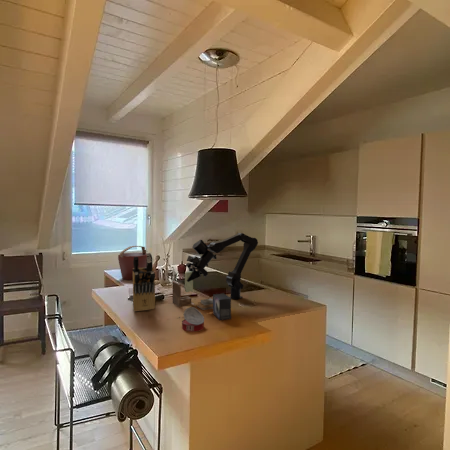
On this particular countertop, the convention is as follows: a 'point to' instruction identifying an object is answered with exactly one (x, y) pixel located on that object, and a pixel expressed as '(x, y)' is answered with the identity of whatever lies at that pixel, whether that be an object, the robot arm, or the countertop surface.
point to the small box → (222, 306)
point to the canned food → (192, 320)
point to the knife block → (143, 285)
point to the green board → (188, 284)
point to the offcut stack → (205, 304)
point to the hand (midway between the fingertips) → (186, 280)
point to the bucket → (131, 262)
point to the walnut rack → (177, 296)
